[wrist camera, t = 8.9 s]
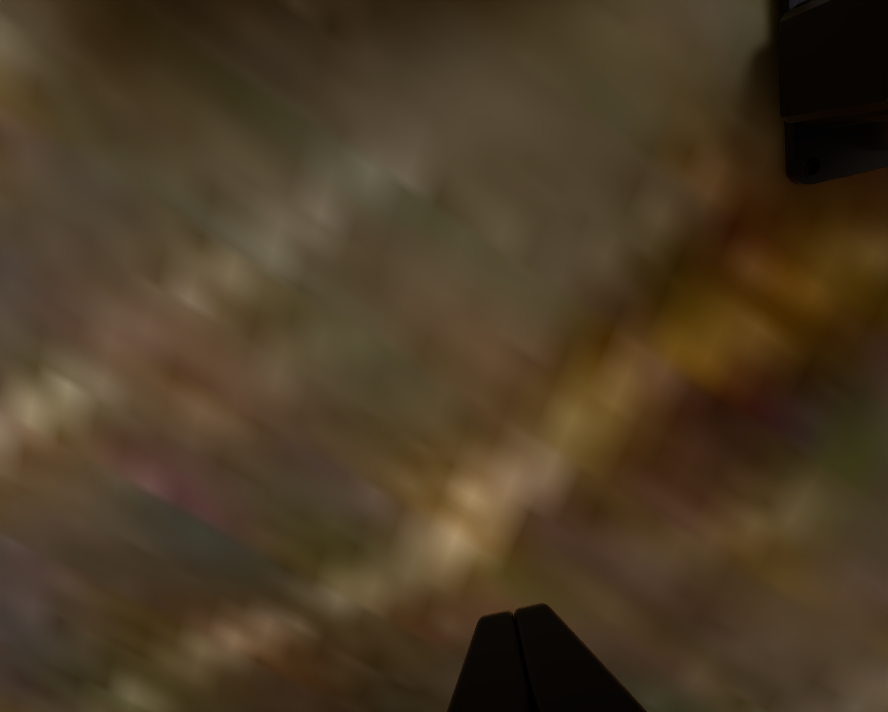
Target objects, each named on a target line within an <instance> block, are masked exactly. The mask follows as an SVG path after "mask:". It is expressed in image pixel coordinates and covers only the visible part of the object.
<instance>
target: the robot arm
mask: <svg viewBox="0 0 888 712" xmlns="http://www.w3.org/2000/svg"><path fill="white" fill-rule="evenodd" d="M780 10H781V20H780V21H779V23H778V26H777V32H778V59H779V87H780V114H781V117H782V118H783V119H784V126H785V155H786V173H787V177H788V178H789V179H790V181H791V182H793V183H795V184H815V183H819V182H823V181H827V180H832V179H836V178H840V177H845V176H849V175H853V174H858V173H862V172H866V171H870V170H875V169H879V168H883V167H888V0H780ZM807 159H809V160H810V162H811V168H810V171H809V172H808V173H807V174H805V173H804V171H803V165H804V163H805V162H806V160H807ZM514 617H515V619H514ZM515 622H516V623H515ZM447 712H647V711H646V710H645V709H644V708H643V707H642V706H641V705H640V703H639V702H638V701H637V700H636V699H635V698H634V697H633V696H632V695H631V694H630V693H629V692H628V691H627V689H626V688H625V687H624V686H623V685H622V684H621V683H620V682H619V681H618V680H617V679H616V678H615V676H614V675H613V674H612V673H611V672H610V671H609V670H608V669H607V668H606V667H605V666H604V665H603V664H602V662H601V661H600V660H599V659H598V658H597V657H596V656H595V655H594V654H593V653H592V652H591V651H590V650H589V648H588V647H587V646H586V645H585V644H584V643H583V642H582V641H581V640H580V639H579V638H578V637H577V636H576V634H575V633H574V632H573V631H572V630H571V629H570V628H569V627H568V626H567V625H566V624H565V623H564V622H563V620H562V619H561V618H560V617H559V616H558V615H557V614H556V613H555V612H554V611H553V610H552V609H551V608H550V607H549V606H548V605H547V604H544V603H540V604H535V605H531V606H526V607H521V608H518V609H516V610H515V612H514V615H513V613H512V612H510V611H503V612H498V613H493V614H489V615H484V616H482V617H481V618H480V619H479V620H478V623H477V625H476V628H475V631H474V634H473V637H472V640H471V643H470V646H469V649H468V652H467V655H466V657H465V660H464V663H463V666H462V669H461V672H460V675H459V678H458V681H457V684H456V687H455V690H454V693H453V695H452V698H451V701H450V704H449V707H448V710H447Z"/></svg>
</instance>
